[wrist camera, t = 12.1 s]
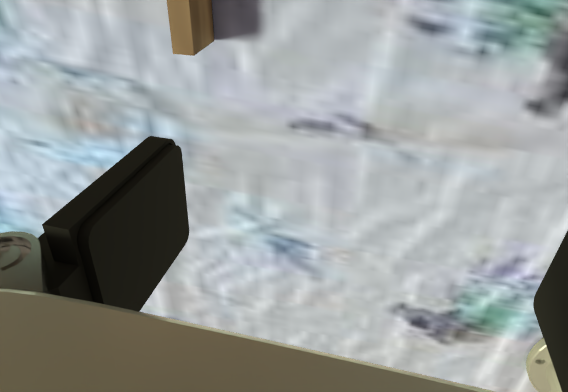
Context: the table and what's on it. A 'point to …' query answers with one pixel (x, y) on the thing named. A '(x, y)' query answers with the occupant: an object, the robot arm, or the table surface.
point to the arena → (190, 25)
